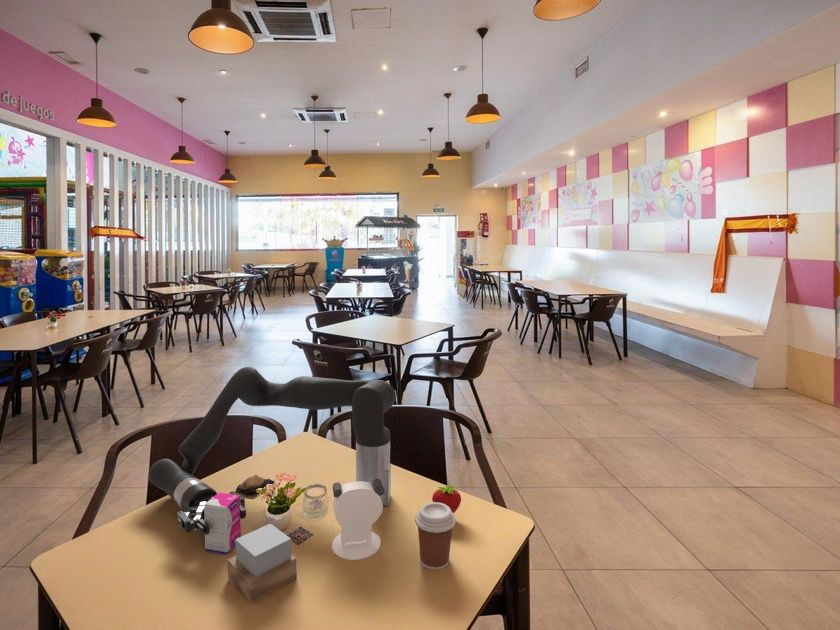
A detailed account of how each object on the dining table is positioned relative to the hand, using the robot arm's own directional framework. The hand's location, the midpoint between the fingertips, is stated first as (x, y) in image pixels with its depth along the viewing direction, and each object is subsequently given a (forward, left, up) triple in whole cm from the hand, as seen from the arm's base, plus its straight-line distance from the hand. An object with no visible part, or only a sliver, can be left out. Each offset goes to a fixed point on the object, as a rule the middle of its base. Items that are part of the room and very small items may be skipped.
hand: (226, 522), depth 109 cm
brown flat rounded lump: (+4, -28, -7) cm, 29 cm away
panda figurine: (-30, -3, -7) cm, 31 cm away
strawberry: (-51, -15, -7) cm, 53 cm away
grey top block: (-12, +10, -2) cm, 16 cm away
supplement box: (+1, -1, -7) cm, 7 cm away
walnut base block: (-12, +10, -7) cm, 17 cm away
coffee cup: (-48, +2, -7) cm, 48 cm away
